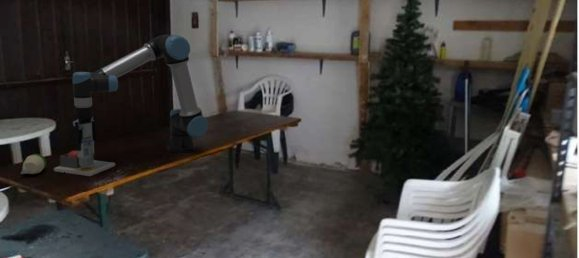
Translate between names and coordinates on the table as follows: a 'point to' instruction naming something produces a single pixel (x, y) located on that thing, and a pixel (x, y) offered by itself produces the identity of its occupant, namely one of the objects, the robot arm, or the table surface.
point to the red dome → (73, 154)
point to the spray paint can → (87, 145)
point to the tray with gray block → (73, 166)
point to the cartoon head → (33, 164)
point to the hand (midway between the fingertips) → (86, 155)
